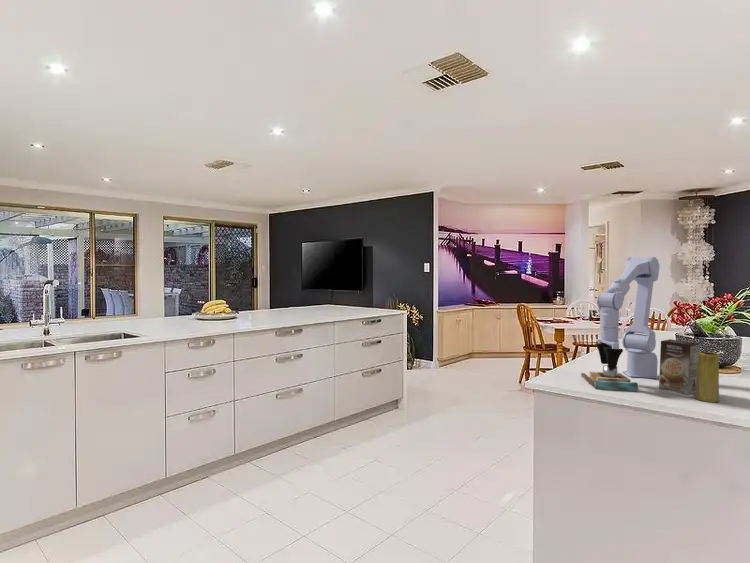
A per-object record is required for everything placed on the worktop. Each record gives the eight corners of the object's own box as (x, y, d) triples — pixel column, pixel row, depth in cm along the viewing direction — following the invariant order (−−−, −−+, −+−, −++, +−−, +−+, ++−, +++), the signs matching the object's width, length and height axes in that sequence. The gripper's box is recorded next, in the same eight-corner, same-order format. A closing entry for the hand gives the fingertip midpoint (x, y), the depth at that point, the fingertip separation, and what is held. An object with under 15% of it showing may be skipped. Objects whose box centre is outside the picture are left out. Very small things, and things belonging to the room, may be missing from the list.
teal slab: (618, 378, 167) (618, 371, 167) (637, 391, 149) (637, 383, 149) (581, 376, 169) (581, 369, 169) (595, 388, 151) (595, 381, 151)
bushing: (612, 383, 160) (612, 365, 160) (620, 384, 155) (620, 366, 156) (600, 382, 159) (600, 364, 160) (607, 384, 155) (607, 366, 156)
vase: (723, 403, 137) (725, 355, 136) (700, 401, 138) (702, 354, 138) (713, 397, 143) (714, 351, 142) (691, 396, 144) (692, 350, 144)
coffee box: (657, 388, 153) (659, 340, 153) (667, 385, 157) (668, 339, 156) (688, 395, 145) (689, 344, 145) (697, 392, 149) (699, 343, 148)
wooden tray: (619, 381, 161) (620, 373, 161) (630, 388, 152) (630, 379, 152) (589, 379, 163) (589, 371, 163) (597, 387, 153) (597, 378, 153)
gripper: (590, 324, 166) (590, 361, 167) (603, 329, 152) (602, 370, 153) (611, 324, 165) (610, 362, 166) (626, 330, 151) (625, 371, 151)
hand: (608, 366), depth 159 cm, fingers open, 7 cm apart
